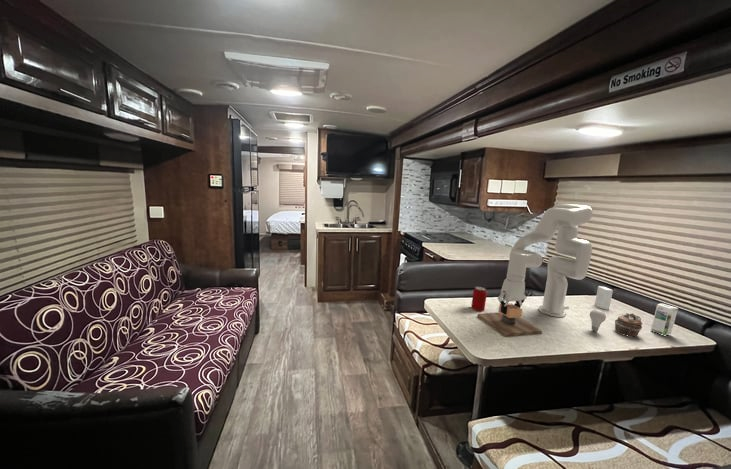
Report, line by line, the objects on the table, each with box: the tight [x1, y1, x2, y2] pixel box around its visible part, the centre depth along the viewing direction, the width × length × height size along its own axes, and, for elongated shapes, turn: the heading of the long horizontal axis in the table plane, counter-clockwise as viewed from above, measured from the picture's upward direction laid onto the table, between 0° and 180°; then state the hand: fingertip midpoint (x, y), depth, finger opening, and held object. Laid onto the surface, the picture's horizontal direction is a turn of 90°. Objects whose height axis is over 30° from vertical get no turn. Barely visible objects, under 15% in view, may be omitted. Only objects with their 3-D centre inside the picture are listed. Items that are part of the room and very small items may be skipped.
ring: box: [498, 302, 523, 318], centre depth 137 cm, size 7×7×4 cm
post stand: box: [476, 305, 543, 338], centre depth 138 cm, size 20×20×10 cm
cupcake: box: [614, 312, 643, 337], centre depth 137 cm, size 10×10×10 cm
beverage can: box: [471, 286, 488, 312], centre depth 154 cm, size 7×7×12 cm
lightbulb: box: [589, 308, 607, 332], centre depth 137 cm, size 6×6×11 cm
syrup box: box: [650, 303, 679, 336], centre depth 139 cm, size 6×6×14 cm
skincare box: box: [594, 285, 614, 310], centre depth 168 cm, size 6×4×12 cm
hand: (509, 312), depth 138 cm, fingers closed on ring, 7 cm apart
